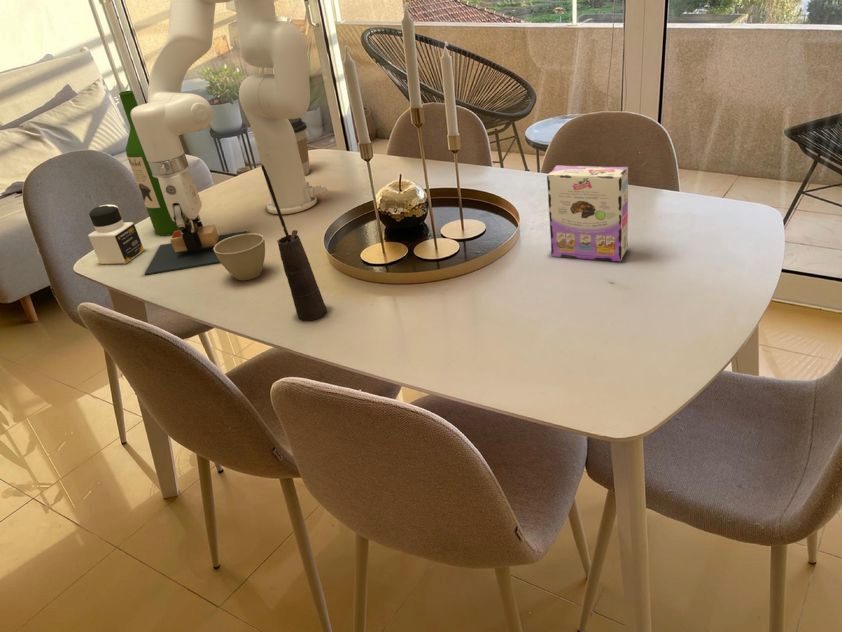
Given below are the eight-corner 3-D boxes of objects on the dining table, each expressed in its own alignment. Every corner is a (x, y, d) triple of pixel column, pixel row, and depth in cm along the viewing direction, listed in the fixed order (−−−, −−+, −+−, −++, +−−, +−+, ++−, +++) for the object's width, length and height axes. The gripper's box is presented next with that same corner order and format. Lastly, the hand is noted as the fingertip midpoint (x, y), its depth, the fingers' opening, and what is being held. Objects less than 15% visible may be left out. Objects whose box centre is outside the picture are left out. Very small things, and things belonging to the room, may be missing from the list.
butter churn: (310, 295, 131) (272, 148, 117) (350, 303, 127) (315, 151, 112) (277, 318, 125) (232, 166, 110) (317, 327, 120) (275, 169, 106)
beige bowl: (282, 265, 145) (273, 233, 141) (255, 287, 137) (245, 254, 133) (242, 263, 148) (232, 232, 144) (213, 284, 140) (202, 252, 136)
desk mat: (247, 232, 163) (246, 230, 163) (239, 259, 150) (238, 258, 150) (160, 246, 162) (160, 244, 162) (145, 275, 148) (144, 273, 148)
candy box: (628, 250, 133) (630, 165, 124) (620, 263, 128) (621, 176, 120) (559, 244, 138) (556, 163, 130) (550, 256, 134) (545, 173, 125)
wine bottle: (147, 234, 169) (95, 97, 152) (173, 220, 176) (125, 87, 159) (175, 236, 166) (125, 96, 149) (200, 222, 173) (155, 86, 156)
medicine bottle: (126, 264, 155) (105, 213, 149) (99, 264, 157) (77, 214, 150) (145, 250, 161) (125, 201, 154) (118, 250, 162) (98, 202, 156)
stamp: (219, 238, 158) (212, 216, 155) (216, 247, 154) (209, 224, 151) (179, 245, 157) (171, 223, 154) (175, 254, 153) (167, 232, 150)
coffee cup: (271, 181, 195) (256, 127, 187) (286, 168, 205) (273, 116, 197) (308, 179, 193) (296, 125, 185) (322, 166, 202) (310, 113, 194)
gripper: (179, 174, 138) (208, 257, 148) (193, 150, 153) (219, 227, 163) (141, 181, 138) (173, 263, 148) (159, 156, 152) (187, 232, 162)
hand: (197, 243), depth 155 cm, fingers closed on stamp, 5 cm apart
